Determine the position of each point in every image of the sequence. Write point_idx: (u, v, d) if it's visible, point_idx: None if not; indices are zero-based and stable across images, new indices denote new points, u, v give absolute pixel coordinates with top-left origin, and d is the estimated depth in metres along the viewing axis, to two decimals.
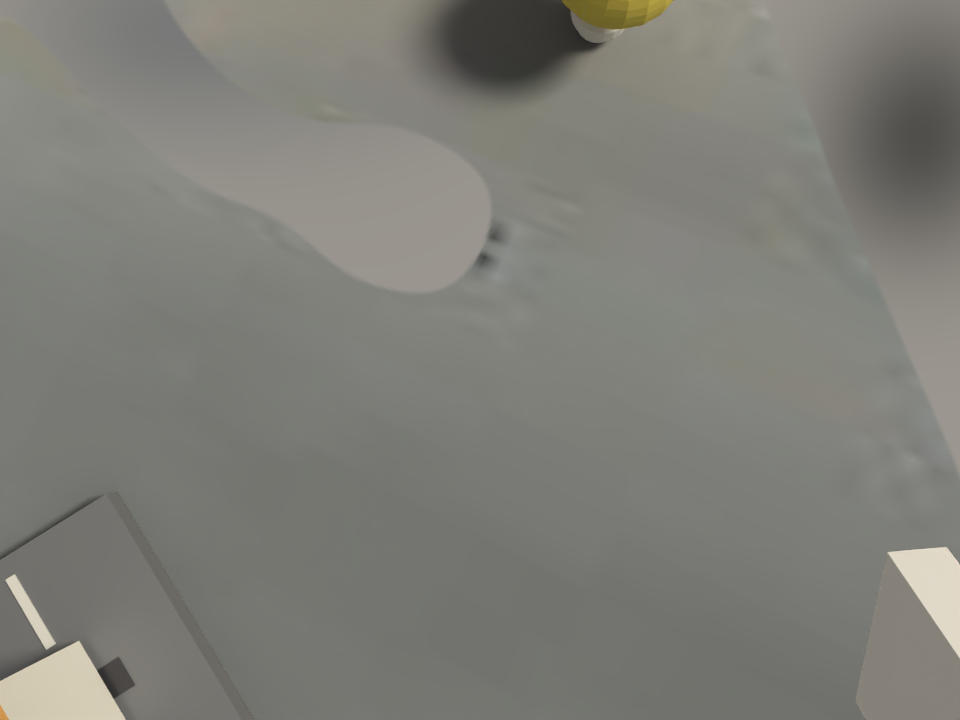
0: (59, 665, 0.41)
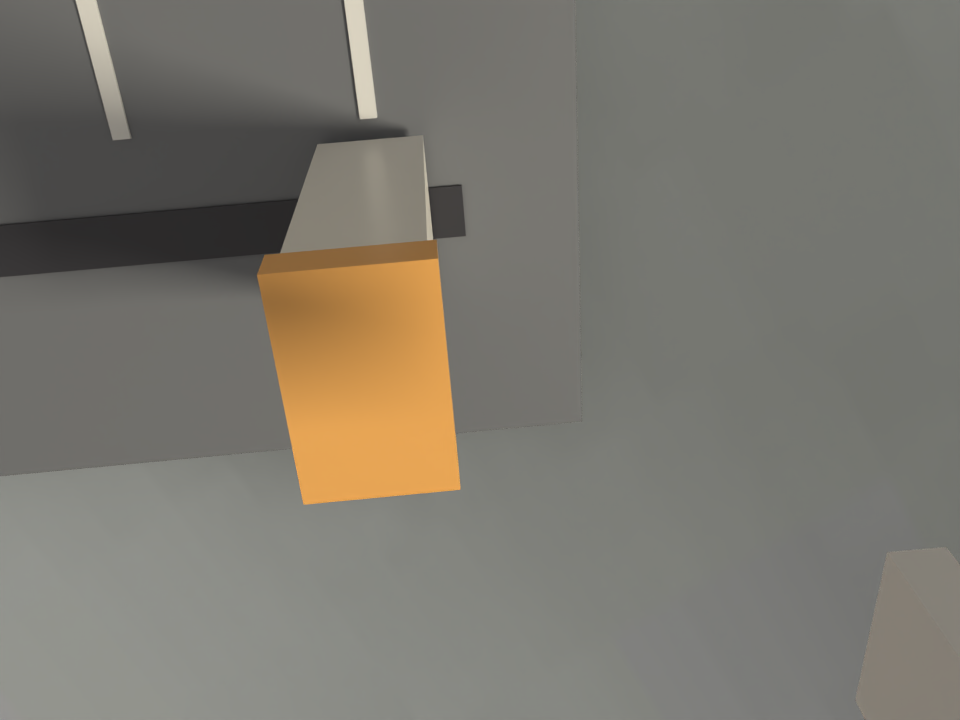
0: (426, 186, 0.23)
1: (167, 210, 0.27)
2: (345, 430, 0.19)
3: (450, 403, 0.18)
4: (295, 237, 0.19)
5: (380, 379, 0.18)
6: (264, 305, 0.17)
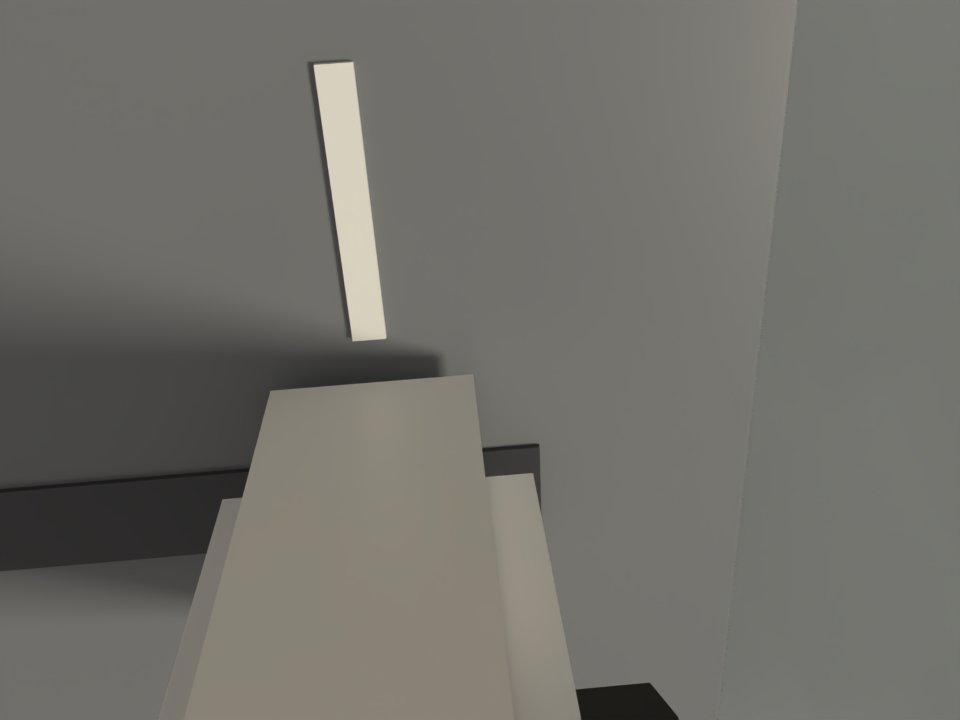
0: None
1: None
2: None
3: None
4: None
5: None
6: None
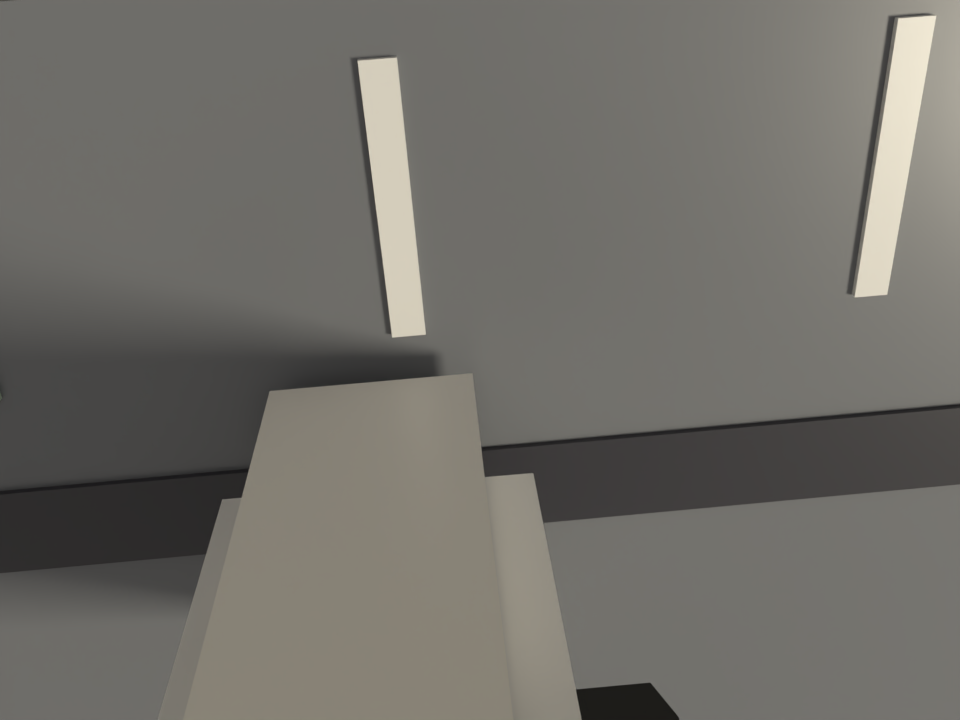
0: None
1: None
2: None
3: None
4: None
5: None
6: None
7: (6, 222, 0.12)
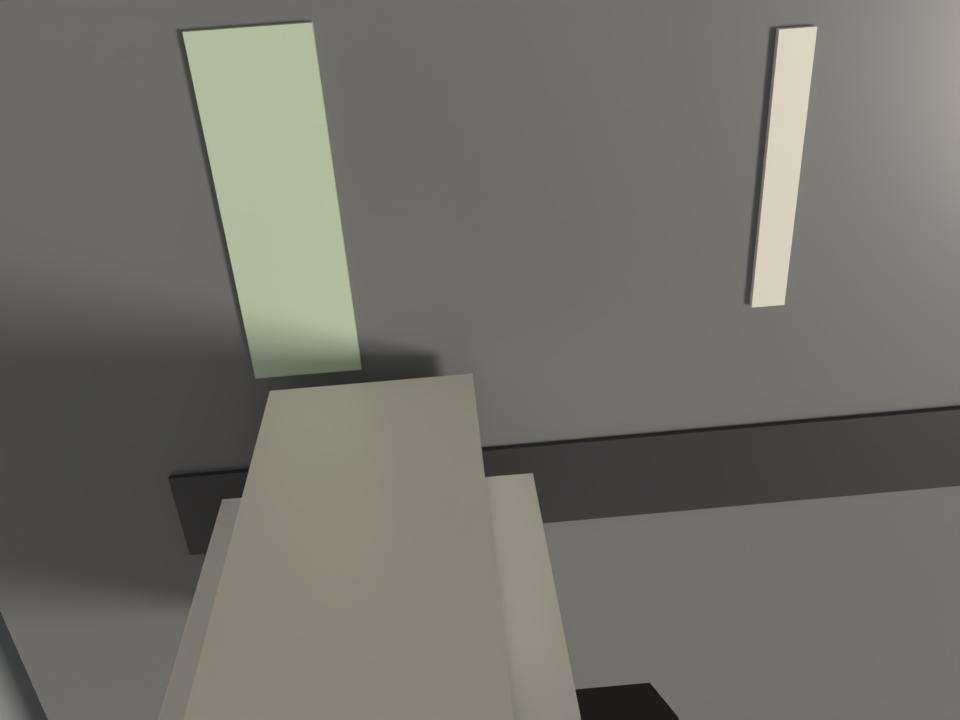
0: None
1: (800, 421, 0.15)
2: None
3: None
4: None
5: None
6: None
7: (404, 189, 0.12)
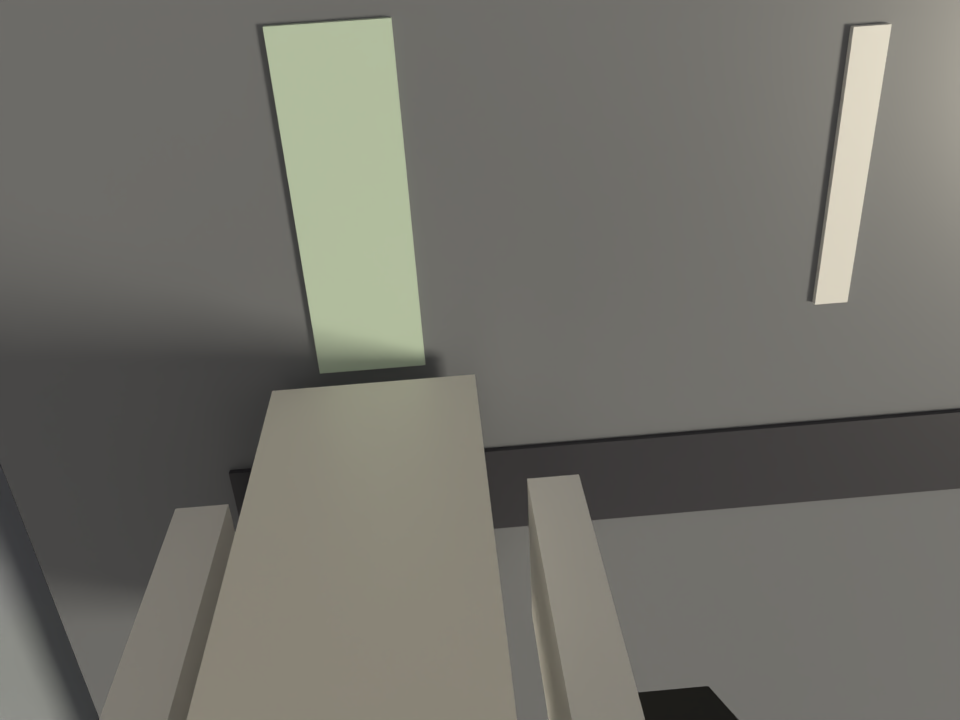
0: None
1: (857, 418, 0.15)
2: None
3: None
4: None
5: None
6: None
7: (474, 185, 0.12)
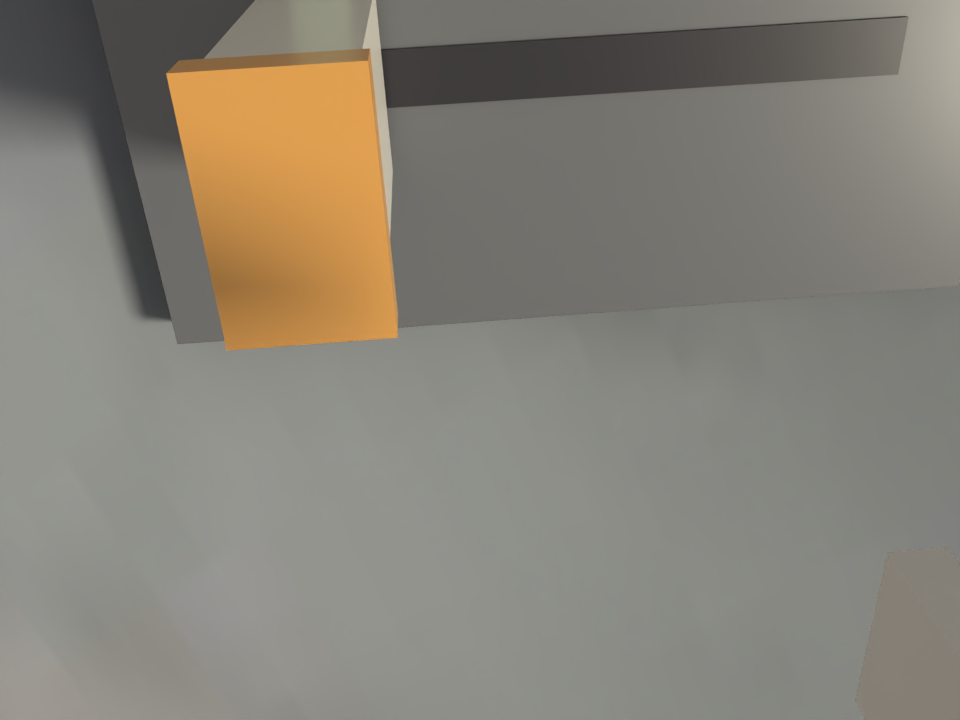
0: (373, 31, 0.22)
1: (603, 35, 0.25)
2: (270, 264, 0.17)
3: (384, 235, 0.17)
4: (217, 53, 0.17)
5: (307, 204, 0.17)
6: (175, 111, 0.16)
7: None
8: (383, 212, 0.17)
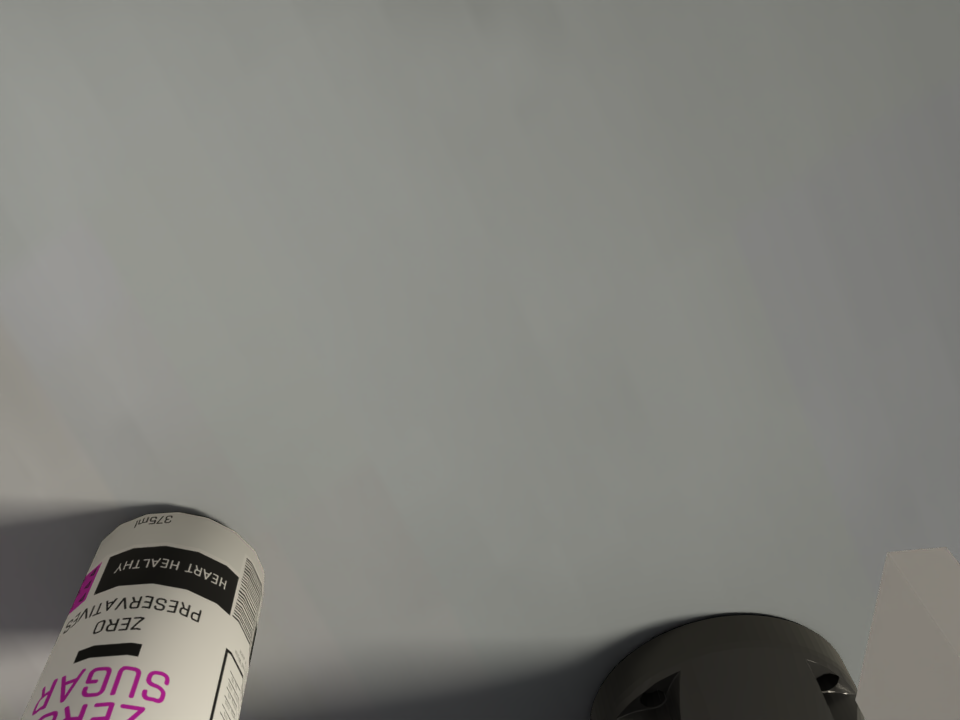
0: None
1: None
2: None
3: None
4: None
5: None
6: None
7: None
8: None
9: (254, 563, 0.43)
